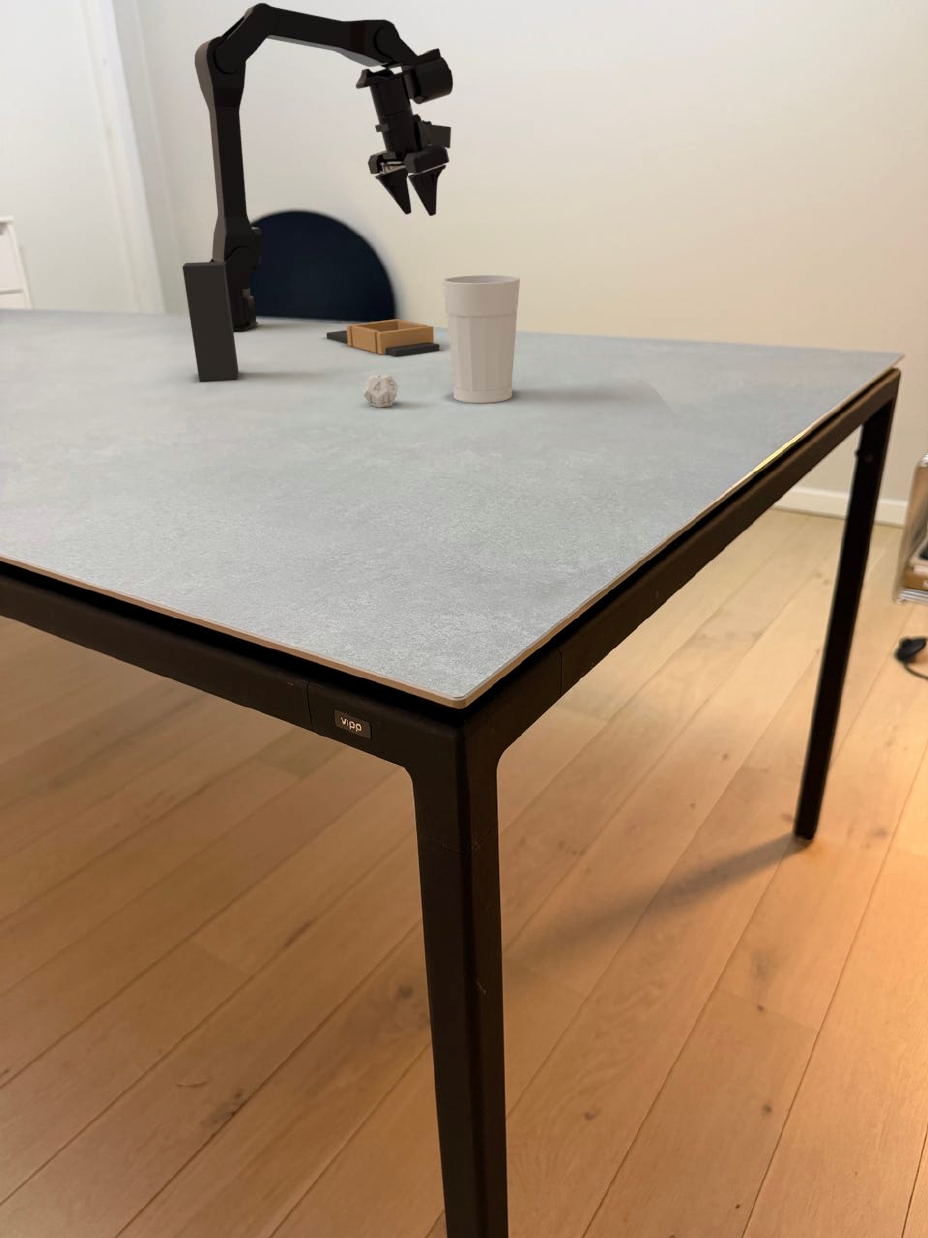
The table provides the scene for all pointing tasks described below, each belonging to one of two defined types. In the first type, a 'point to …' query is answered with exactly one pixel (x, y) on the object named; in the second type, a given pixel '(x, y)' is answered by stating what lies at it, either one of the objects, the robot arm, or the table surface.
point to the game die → (381, 390)
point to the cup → (482, 335)
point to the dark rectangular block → (211, 320)
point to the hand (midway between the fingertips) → (420, 214)
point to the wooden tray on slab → (388, 337)
